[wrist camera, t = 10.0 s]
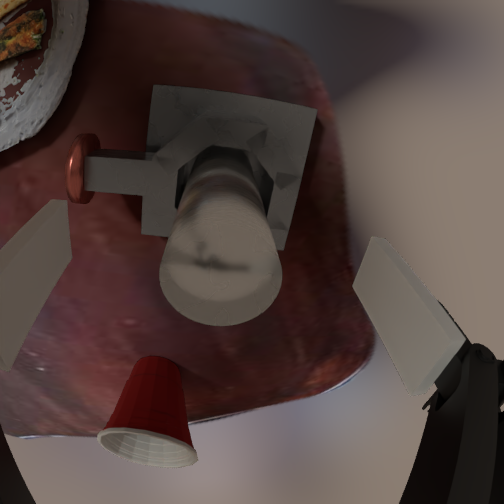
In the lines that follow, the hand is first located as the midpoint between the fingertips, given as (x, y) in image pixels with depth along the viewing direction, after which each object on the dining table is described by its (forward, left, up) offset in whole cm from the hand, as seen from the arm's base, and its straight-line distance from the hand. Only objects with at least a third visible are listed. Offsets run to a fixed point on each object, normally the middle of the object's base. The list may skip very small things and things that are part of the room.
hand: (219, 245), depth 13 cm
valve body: (0, -2, -14) cm, 14 cm away
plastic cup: (+26, -5, -14) cm, 30 cm away
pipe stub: (0, 0, -12) cm, 12 cm away
